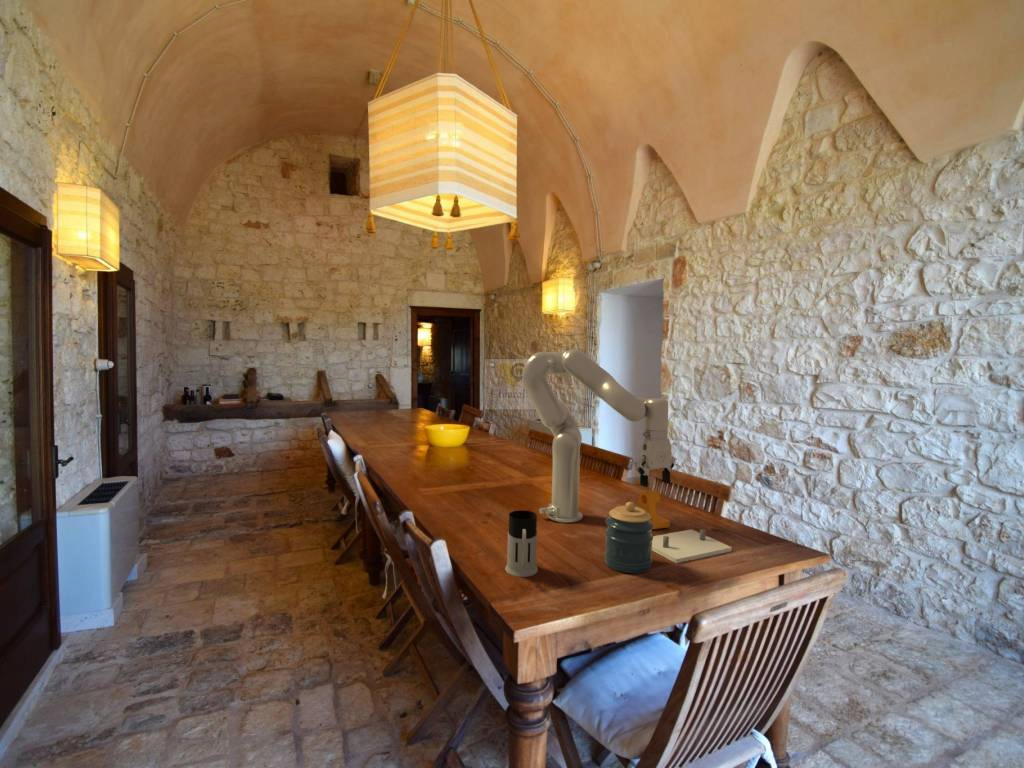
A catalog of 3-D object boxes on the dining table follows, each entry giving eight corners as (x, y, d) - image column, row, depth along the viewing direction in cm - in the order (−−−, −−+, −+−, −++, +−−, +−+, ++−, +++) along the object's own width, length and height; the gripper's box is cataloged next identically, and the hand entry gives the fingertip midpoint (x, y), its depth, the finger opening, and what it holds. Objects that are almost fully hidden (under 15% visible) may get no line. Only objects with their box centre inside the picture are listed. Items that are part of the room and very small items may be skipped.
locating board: (676, 563, 138) (676, 548, 137) (638, 542, 152) (639, 529, 152) (731, 551, 147) (732, 537, 147) (691, 532, 161) (691, 520, 161)
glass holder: (536, 562, 136) (537, 509, 135) (541, 587, 122) (542, 528, 121) (505, 562, 136) (506, 509, 135) (506, 586, 122) (507, 527, 121)
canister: (622, 578, 128) (625, 512, 127) (595, 558, 140) (597, 497, 139) (662, 570, 133) (664, 506, 132) (632, 551, 145) (634, 493, 144)
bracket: (670, 529, 165) (672, 494, 164) (653, 531, 162) (654, 496, 161) (650, 518, 175) (652, 485, 174) (633, 521, 172) (635, 487, 171)
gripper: (643, 438, 159) (642, 490, 160) (683, 434, 167) (682, 484, 168) (628, 434, 166) (627, 484, 167) (667, 431, 173) (666, 479, 174)
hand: (655, 484), depth 167 cm, fingers open, 9 cm apart
